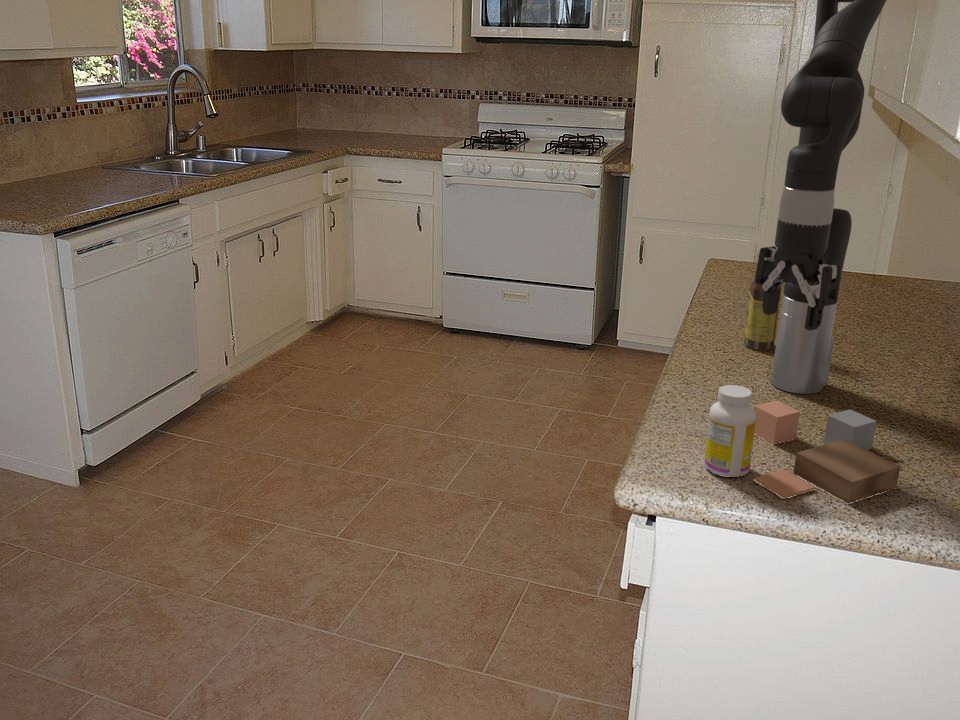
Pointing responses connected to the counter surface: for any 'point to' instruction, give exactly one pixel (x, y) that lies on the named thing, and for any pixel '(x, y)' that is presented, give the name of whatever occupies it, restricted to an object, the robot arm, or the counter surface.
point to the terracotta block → (776, 421)
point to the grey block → (850, 428)
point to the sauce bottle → (760, 320)
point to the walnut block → (846, 470)
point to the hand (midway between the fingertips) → (789, 321)
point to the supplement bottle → (730, 432)
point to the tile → (784, 483)
